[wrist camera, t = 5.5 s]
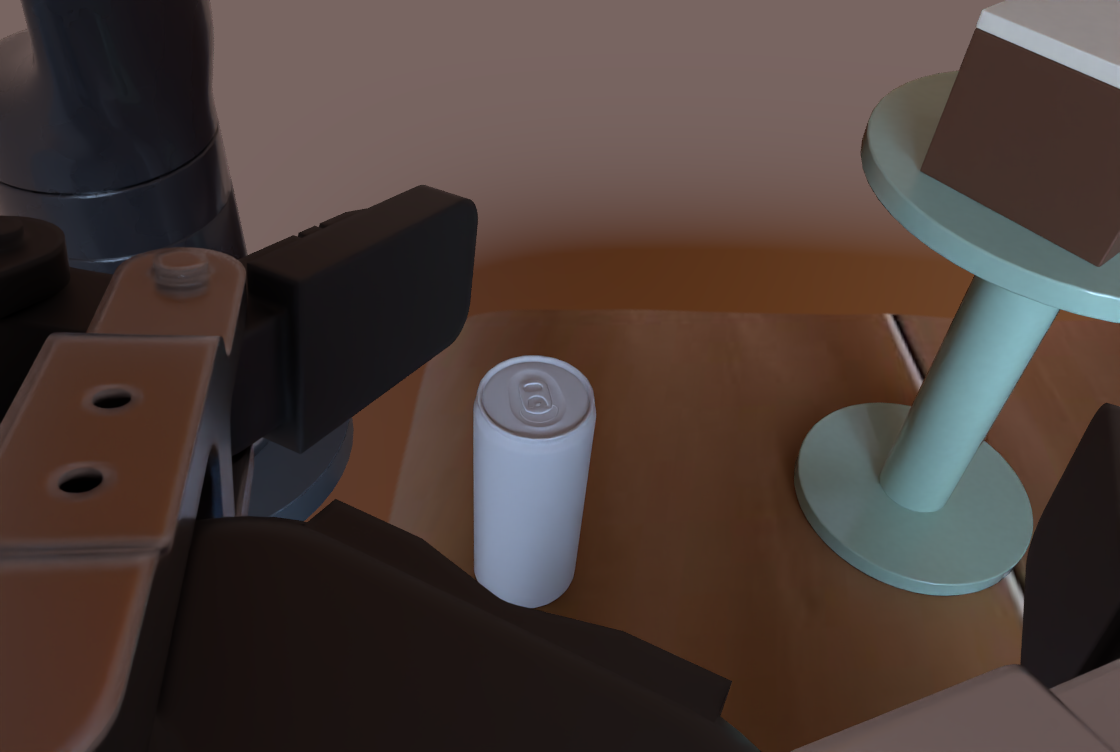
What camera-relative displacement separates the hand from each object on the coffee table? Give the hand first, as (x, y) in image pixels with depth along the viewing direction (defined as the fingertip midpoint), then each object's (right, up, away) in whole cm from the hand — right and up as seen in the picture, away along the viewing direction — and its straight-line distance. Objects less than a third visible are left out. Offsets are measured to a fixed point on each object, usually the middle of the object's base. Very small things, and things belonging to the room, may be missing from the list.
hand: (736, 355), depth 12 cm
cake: (+15, +6, +21) cm, 27 cm away
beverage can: (-4, -10, +32) cm, 34 cm away
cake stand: (+16, -7, +37) cm, 41 cm away
